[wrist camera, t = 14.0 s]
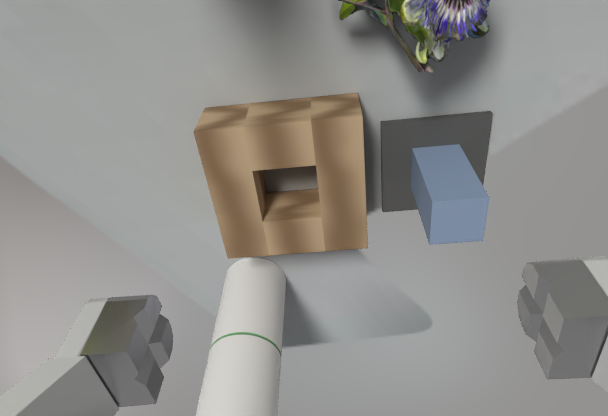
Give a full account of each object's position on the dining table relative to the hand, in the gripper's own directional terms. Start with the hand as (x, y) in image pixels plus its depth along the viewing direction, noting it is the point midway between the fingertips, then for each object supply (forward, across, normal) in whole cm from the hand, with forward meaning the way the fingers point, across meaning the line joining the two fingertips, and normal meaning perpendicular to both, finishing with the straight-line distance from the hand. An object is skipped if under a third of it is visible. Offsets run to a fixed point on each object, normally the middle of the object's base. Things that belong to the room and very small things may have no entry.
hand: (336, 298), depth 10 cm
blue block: (+32, -9, +16) cm, 37 cm away
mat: (+32, -9, +16) cm, 37 cm away
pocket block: (+32, +5, +15) cm, 36 cm away
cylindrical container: (+33, +11, +30) cm, 46 cm away
